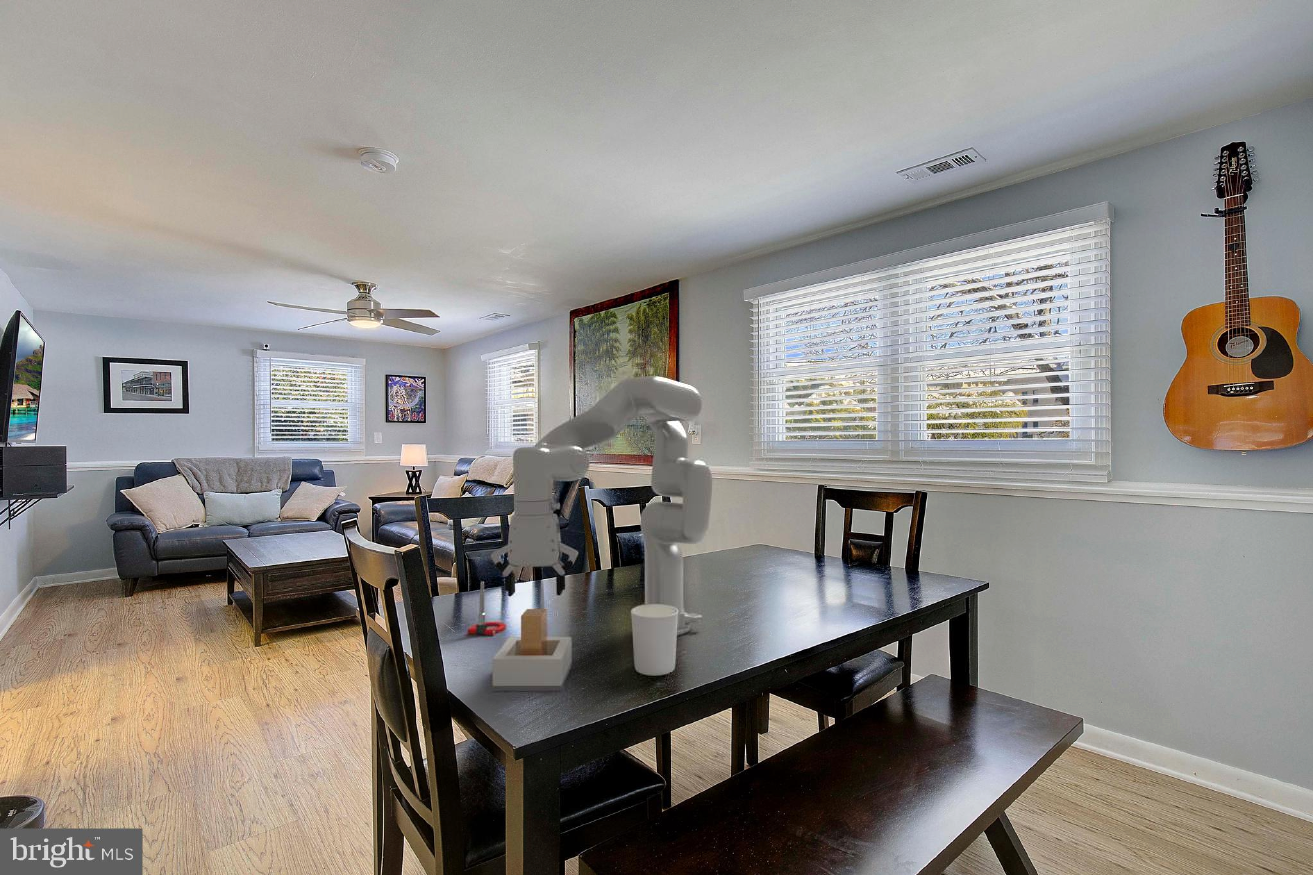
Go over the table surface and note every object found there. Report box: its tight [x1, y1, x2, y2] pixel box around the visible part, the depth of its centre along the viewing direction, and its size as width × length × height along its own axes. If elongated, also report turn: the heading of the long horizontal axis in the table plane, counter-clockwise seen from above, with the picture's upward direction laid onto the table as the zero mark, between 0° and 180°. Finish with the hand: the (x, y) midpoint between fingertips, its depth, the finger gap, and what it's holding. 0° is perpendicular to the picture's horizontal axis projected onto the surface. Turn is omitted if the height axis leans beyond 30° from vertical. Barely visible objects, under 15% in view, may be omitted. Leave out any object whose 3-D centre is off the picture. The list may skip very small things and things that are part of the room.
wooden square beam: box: [520, 608, 548, 656], centre depth 124 cm, size 4×5×12 cm
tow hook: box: [467, 581, 507, 636], centre depth 156 cm, size 8×13×9 cm
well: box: [492, 636, 572, 692], centre depth 124 cm, size 13×13×6 cm
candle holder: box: [630, 604, 678, 676], centre depth 129 cm, size 10×10×12 cm
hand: (535, 594), depth 124 cm, fingers open, 9 cm apart
